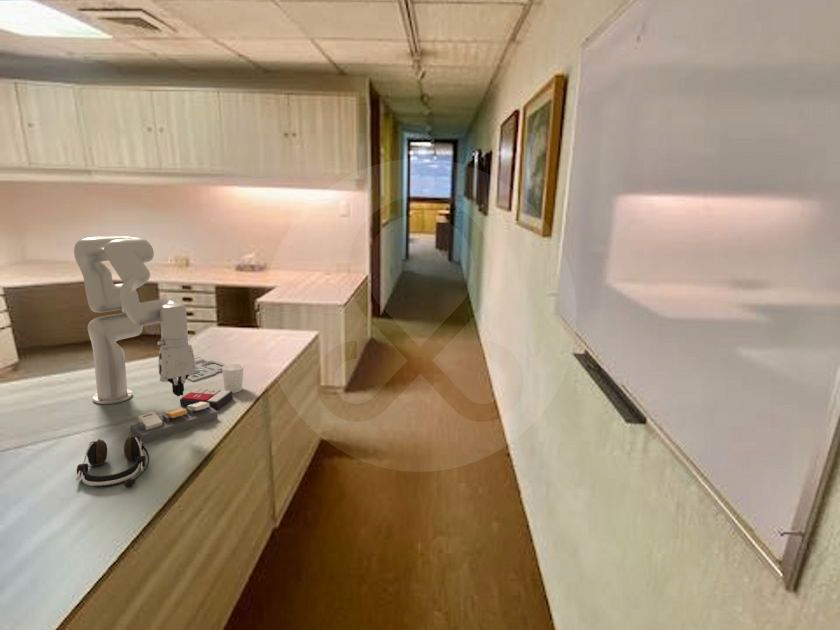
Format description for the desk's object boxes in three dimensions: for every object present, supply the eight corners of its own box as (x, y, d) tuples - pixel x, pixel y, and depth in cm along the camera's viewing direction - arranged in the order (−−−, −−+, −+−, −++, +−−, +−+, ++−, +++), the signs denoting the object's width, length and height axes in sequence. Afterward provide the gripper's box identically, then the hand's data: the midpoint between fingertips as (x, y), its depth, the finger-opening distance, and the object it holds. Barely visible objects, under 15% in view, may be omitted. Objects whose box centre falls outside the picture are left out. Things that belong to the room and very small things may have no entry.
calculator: (196, 386, 186) (232, 389, 184) (197, 396, 187) (233, 399, 185) (179, 397, 176) (217, 400, 174) (180, 408, 177) (217, 411, 175)
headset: (151, 427, 144) (145, 472, 127) (152, 448, 147) (147, 494, 130) (83, 435, 137) (67, 483, 120) (86, 457, 140) (71, 506, 123)
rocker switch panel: (142, 443, 150) (141, 430, 148) (130, 433, 155) (129, 420, 154) (217, 418, 169) (217, 406, 168) (204, 410, 174) (204, 398, 173)
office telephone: (161, 364, 209) (202, 353, 226) (161, 369, 210) (202, 358, 226) (192, 377, 197) (234, 364, 214) (193, 383, 198) (234, 370, 214)
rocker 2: (196, 410, 163) (195, 406, 163) (187, 409, 167) (187, 405, 167) (209, 406, 167) (208, 402, 167) (201, 405, 171) (200, 401, 171)
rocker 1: (146, 430, 151) (146, 426, 151) (138, 419, 154) (138, 415, 154) (162, 425, 155) (162, 421, 155) (153, 414, 158) (154, 411, 158)
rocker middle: (172, 418, 157) (171, 413, 157) (164, 416, 161) (163, 412, 161) (186, 413, 161) (186, 409, 161) (178, 412, 165) (178, 408, 164)
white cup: (223, 394, 188) (223, 371, 186) (221, 387, 195) (221, 364, 193) (244, 392, 192) (244, 369, 190) (242, 385, 199) (241, 362, 196)
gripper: (156, 349, 145) (160, 404, 149) (203, 339, 157) (206, 391, 161) (145, 343, 149) (149, 397, 154) (192, 335, 161) (195, 385, 165)
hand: (178, 394), depth 157 cm, fingers closed
